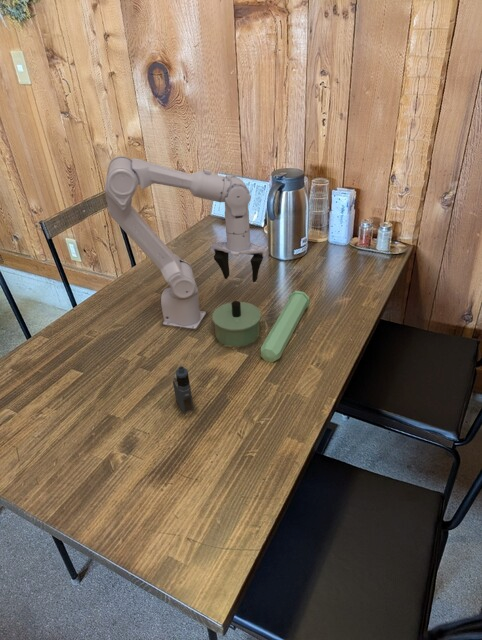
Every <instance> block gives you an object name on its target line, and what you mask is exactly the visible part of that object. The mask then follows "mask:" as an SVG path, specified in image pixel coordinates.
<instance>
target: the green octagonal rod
mask: <svg viewBox="0 0 482 640" xmlns="http://www.w3.org/2000/svg"><path fill="white" fill-rule="evenodd" d="M310 299H311V298H310V297H309V296H308V295H307V294H306V292H305V291H301V290H294V291H293V292H291V293H290V294H289V295H288V300H287V301H286V302H287V303H286V304H285V305H284V308H283V309H282V311H281V312H280V314H279V316H278V318H277V320H275V322H274V324H273V326H272V328H271V329H270V331H269V333H268V335H266V338H265V340H264V341H263V343H262V344H261V346H260V357H261V358H262V359H263V360H264V361H265V362H268V363H274V362H276V361H277V360H279V359H280V358H281V356H282V355H283V353H284V352H285V349H286V347H287V345H288V343H289V341H290V339H291V337H292V335H293V333H294V332H295V330H296V328H297V326H298V324H299V323H300V321H301V319H302V316H303V314H304V313H305V311H306V309H307V308H309V307H310Z"/></svg>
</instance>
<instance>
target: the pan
mask: <svg viewBox="0 0 482 640" xmlns="http://www.w3.org/2000/svg"><path fill="white" fill-rule="evenodd" d="M213 324H214V334H215V339H216V340H217V341H218V342H219V343H221V344H223V345H225V346H228V347H245V346H247V345H251V344H253V343H254V342H255V341H256V340H258V339H259V337H260V334H261V325H260V324H261V320H260V321H259V322H258V323H257V324H256V325H255V326H253V327H251V328H249V329H246V330H241V331H229V330H224V329H222V328H219V327H218V326H216V325H215V323H214V322H213Z"/></svg>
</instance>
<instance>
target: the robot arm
mask: <svg viewBox="0 0 482 640" xmlns="http://www.w3.org/2000/svg"><path fill="white" fill-rule="evenodd" d="M106 171H107V172H106V176H105V184H104V189H103V190H104V192H105V193H104V194H105V198H106V204H107V211H108V214H109V215H110V217H111V218H112V219H113V220H114V221H115V222H116V224H118V226H119V227H120V228H121V229H122V230H123V231H124V232H125V234H126V235H127V236H128V237H129V238H130V239H131V240H132V241H133V242H134V243H135V244H136V245H137V247H138V248H139V249H140V250H141V251H142V252H143V253H144V254H145V255H146V257H148V258H149V259H150V261H151V262H152V263H153V264H154V265H155V266H156V267H157V269H159V271H160V272H161V274H162V277H163V279H164V281H165V282H166V283H167V284H168V285H169V287H166V288H164V289H163V291H162V293H161V297H160V307H161V312H162V318H163V322H162V326H174V327H179V328H187V329H194V330H195V329H197V328H198V326H199V325H200V323H201V321H202V320H203V318H204V317H205V315H206V313H207V312H206V311H202V310H201V307H200V299H199V289H198V285H197V282H196V281H195V276H194V270H193V269H194V268H193V267H192V265H191V264H190V263H189V262H188V261H186V260H183V259H181V257H180V256H179V255H178V254H175V253H173V252H172V250H171V248H169V247H168V246H167V244H166V243H165V242H164V241H163V240H162V239H161V238H160V237H159V236H158V234H157V233H156V231H154V230H153V228H152V227H151V226H150V225H149V224H148V223H147V221H146V220H145V219H144V218H143V217H142V215H140V213H138V211H137V210H136V209H135V208H134V206H133V205H132V203H133V197H134V195H135V194H136V192H137V190H138V186H139V185H140V191H143V190H145V189H147V188H148V187H150V186H152V185H153V184H156V185H160V186H161V185H163V186H167V187H173V188H178V189H183V190H189V191H190V193H191V195H192V196H193V197H195V198H198V199H203V200H208V201H212V202H215V203H216V202H217V203H224V221H225V234H226V241H220V242H212V243H211V244H210V245H209V249H210V253H211V254H214V255H213V260H214V261H215V262H216V264H217V265H218V267H219V268H220V270H221V273H222V275H223V278H224V280H227V279H228V278H229V277H230V265H229V257H230V256H232V257H239V256H240V255H250V256H252V257H251V258H250V265H251V271H252V273H251V276H252V280H251V281H252V282H253V283H256V282H257V280H258V278H259V277H258V276H259V272H260V271H259V270H260V268H261V264H262V263H263V259H264V258H267V257H268V255H269V246H264V245H261V244H256V243H252V242H251V232H250V231H251V230H250V212H249V204H250V202H251V199H252V195H251V194H250V189H249V188H248V187H247V185H246V183H245V182H244V180H243V179H241V178H240V177H237V176H235V175H227V174H226V175H225V176H223V175H219V174H216V173H212V172H211V170H210V169H206V168H204V169H203V170H196V171H195V172H193V173H187V172H185V171H181V170H177V169H175V168H170V167H167V166H164V165H160V164H157V163H153V162H150V161H148V160H147V161H146V160H144V159H141V158H135V157H132V159H131V158H130V157H127V156H124V155H119V156H116V157H113V158H112V159H111V160H110V161H109V163H108V167H107V170H106ZM229 254H230V256H229Z"/></svg>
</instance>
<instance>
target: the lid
mask: <svg viewBox="0 0 482 640" xmlns="http://www.w3.org/2000/svg"><path fill="white" fill-rule="evenodd" d="M211 318H212V322H213V324H214V323H215V325H216V326H218V327H219V328H222V329H224V330H229V331H241V330H246V329H249V328H251V327H253V326H255V325H256V324H257V323H258V322H259V321H260V322H261V319H262V312H261V310H260V309H259V308H258V306H256V305H254V304H252V303H250V302H245V301H239V300H234V301H232V302H227V303H224V304H221V305H219V306H218V307H216V309H215V310H214V311H213V313H212V317H211ZM215 325H214V326H215Z"/></svg>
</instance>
